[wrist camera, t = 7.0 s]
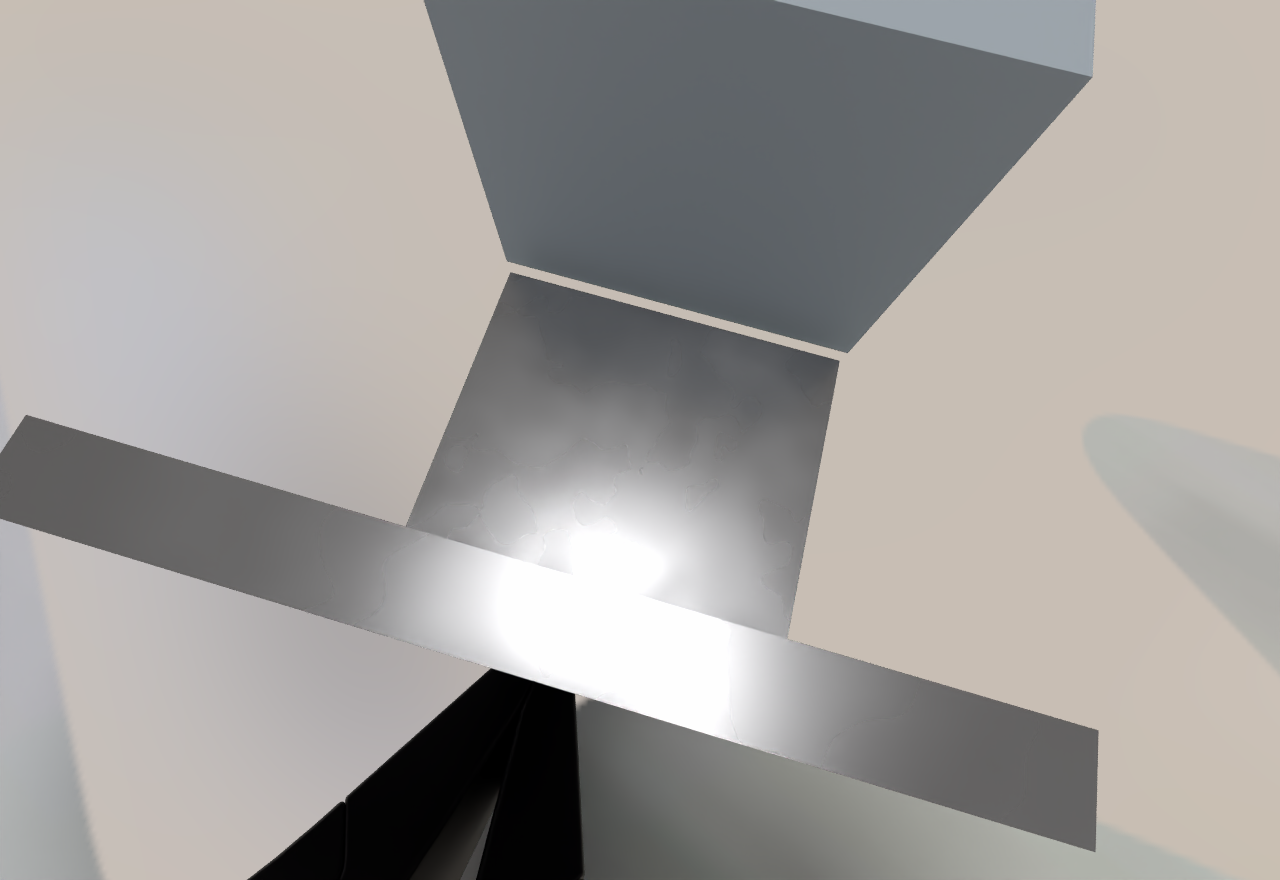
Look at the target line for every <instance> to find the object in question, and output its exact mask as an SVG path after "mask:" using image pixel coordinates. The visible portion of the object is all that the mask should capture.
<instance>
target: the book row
mask: <svg viewBox="0 0 1280 880" xmlns="http://www.w3.org/2000/svg"><path fill="white" fill-rule="evenodd" d="M424 2H425V6H426V9H427V12H428V15H429V18H430V21H431V24H432V27H433V30H434V34H435V37H436V40H437V43H438V46H439V49H440V53H441V55H442V59H443V62H444V65H445V68H446V71H447V75H448V77H449V81H450V84H451V87H452V90H453V93H454V97H455V100H456V103H457V106H458V109H459V112H460V115H461V118H462V122H463V125H464V128H465V131H466V134H467V137H468V140H469V144H470V147H471V150H472V153H473V156H474V159H475V162H476V165H477V168H478V172H479V175H480V178H481V181H482V184H483V187H484V190H485V193H486V197H487V200H488V203H489V206H490V209H491V212H492V216H493V219H494V222H495V225H496V228H497V231H498V234H499V238H500V240H501V244H502V247H503V250H504V253H505V256H506V259H507V261H508V262H512V263H516V264H519V265H523V266H527V267H530V268H534V269H538V270H542V271H545V272H549V273H553V274H557V275H560V276H564V277H568V278H571V279H575V280H579V281H582V282H586V283H590V284H593V285H597V286H601V287H605V288H608V289H612V290H616V291H620V292H623V293H627V294H631V295H635V296H638V297H642V298H646V299H649V300H653V301H656V302H660V303H664V304H668V305H671V306H675V307H679V308H683V309H686V310H690V311H694V312H697V313H701V314H705V315H709V316H712V317H716V318H720V319H723V320H727V321H731V322H734V323H738V324H742V325H745V326H749V327H753V328H757V329H760V330H764V331H768V332H771V333H775V334H779V335H783V336H786V337H790V338H794V339H798V340H801V341H805V342H809V343H812V344H816V345H820V346H823V347H828V348H831V349H834V350H838V351H842V352H846V353H848V352H849V351H850V350H851V349H852V348H853V346H854V345H855V344H856V343H857V342H858V341H859V340H860V339H861V337H862V336H863V335H864V334H865V333H866V332H867V331H868V330H869V328H870V327H871V326H872V325H873V324H874V323H875V322H876V321H877V319H878V318H879V317H880V316H881V315H882V314H883V312H884V311H885V310H886V309H887V308H888V307H889V306H890V305H891V303H892V302H893V301H894V300H895V299H896V298H897V297H898V295H900V293H901V292H902V291H903V290H904V289H905V288H906V287H907V286H908V284H909V283H910V282H911V281H912V280H913V278H915V277H916V275H917V274H918V273H919V272H920V271H921V270H922V269H923V268H924V266H925V265H926V264H927V263H928V262H929V261H930V259H931V258H932V257H933V256H934V255H935V254H936V253H937V252H938V251H939V249H940V248H941V247H942V246H943V245H944V244H945V243H946V242H947V240H948V239H949V238H950V237H951V236H952V235H953V234H954V233H955V231H956V230H957V229H958V228H959V227H960V226H961V225H962V224H963V222H964V221H965V220H966V219H967V218H968V217H969V216H970V214H971V213H972V212H973V211H974V210H975V209H976V208H977V207H978V206H979V204H980V203H981V202H982V201H983V200H984V198H985V197H986V196H987V195H988V194H989V193H990V192H991V191H992V190H993V189H994V187H995V186H996V185H997V184H998V183H999V182H1000V181H1001V179H1002V178H1003V177H1004V176H1005V175H1006V174H1007V173H1008V171H1009V170H1010V169H1011V168H1012V167H1013V166H1014V165H1015V164H1016V163H1017V161H1018V160H1019V159H1020V158H1021V157H1022V156H1023V155H1024V154H1025V153H1026V151H1027V150H1028V149H1029V148H1030V147H1031V146H1032V145H1033V143H1034V142H1035V141H1036V140H1037V139H1038V138H1039V137H1040V136H1041V134H1042V133H1043V132H1044V131H1045V130H1046V129H1047V128H1048V126H1049V125H1050V124H1051V123H1052V122H1053V121H1054V120H1055V119H1056V118H1057V116H1058V115H1059V114H1060V113H1061V112H1062V111H1063V110H1064V108H1065V107H1066V106H1067V105H1068V104H1069V103H1070V102H1071V101H1072V100H1073V98H1074V97H1075V96H1076V95H1077V94H1078V93H1079V92H1080V91H1081V89H1082V88H1083V87H1084V86H1085V85H1086V84H1087V83H1088V82H1089V80H1090V79H1091V78H1092V76H1093V74H1092V73H1093V53H1094V52H1093V51H1094V29H1095V5H1096V0H424Z"/></svg>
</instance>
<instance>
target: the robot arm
mask: <svg viewBox="0 0 1280 880" xmlns="http://www.w3.org/2000/svg"><path fill="white" fill-rule="evenodd" d="M494 807H495V808H494ZM493 809H494V812H493ZM492 812H493V816H492V820H491V824H490V828H489V831H488V835H487V839H486V843H485V847H484V851H483V855H482V858H481V862H480V866H479V870H478V874H477V878H476V880H584V879H583V878H584V875H585V870H584V852H583V833H582V814H581V795H580V777H579V758H578V739H577V721H576V702H575V694H574V693H571V692H568V691H565V690H561V689H558V688H555V687H551V686H548V685H545V684H542V683H538V682H535V681H532V680H528V679H525V678H522V677H519V676H515V675H512V674H509V673H505V672H502V671H499V670H496V669H492V668H491V669H490V670H489V671H487V672H486V673H485V674H484V675H483V676H482V677H481V678H479V679H478V680H477V681H476V682H475V683H474V684H473V685H472V686H471V687H469V688H468V689H467V690H466V691H465V692H464V693H463V694H461V695H460V696H459V697H458V698H457V699H456V700H455V701H454V702H452V704H450V705H449V706H448V707H447V708H446V709H445V710H444V711H442V712H441V713H440V714H439V715H438V716H437V717H436V718H435V719H433V720H432V721H431V722H430V723H429V724H428V725H427V726H425V727H424V728H423V729H422V730H421V731H420V732H419V733H418V734H416V735H415V736H414V737H413V738H412V739H411V740H410V741H409V742H407V743H406V744H405V745H404V746H403V747H402V748H401V749H400V750H398V751H397V752H396V753H395V754H394V755H393V756H392V757H391V758H389V759H388V760H387V761H386V762H385V763H384V764H383V765H382V766H381V767H379V768H378V769H377V770H376V771H375V772H374V773H373V774H372V775H370V776H369V777H368V778H367V779H366V780H365V781H364V782H362V783H361V784H360V785H359V786H358V787H357V788H356V789H355V790H353V791H352V792H351V793H350V794H349V795H348V796H347V797H346V800H345V803H344V802H340V803H338V804H337V805H336V806H335V807H334V808H333V809H332V810H331V811H330V812H328V813H327V814H326V815H325V816H324V817H323V818H322V819H321V820H319V821H318V822H317V823H316V824H315V825H314V826H313V827H312V828H310V829H309V830H308V831H307V832H305V833H304V834H303V835H302V836H301V837H299V838H298V839H297V840H296V841H295V842H294V843H292V844H291V845H290V846H289V847H288V848H287V849H285V850H284V851H283V852H282V853H281V854H279V855H278V856H277V857H276V858H275V859H273V860H272V861H271V862H270V863H268V864H267V865H266V866H264V867H263V868H262V869H261V870H259V871H258V872H257V873H255V874H254V875H253V876H251V877H250V878H249V879H248V880H460V879H461V877H462V875H463V872H464V870H465V868H466V866H467V864H468V862H469V860H470V858H471V856H472V854H473V851H474V849H475V847H476V845H477V843H478V841H479V839H480V837H481V835H482V833H483V830H484V828H485V826H486V824H487V822H488V820H489V818H490V816H491V814H492Z"/></svg>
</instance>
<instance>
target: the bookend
mask: <svg viewBox="0 0 1280 880" xmlns="http://www.w3.org/2000/svg"><path fill="white" fill-rule="evenodd" d="M838 367H839V361H838V360H834V359H830V358H827V357H823V356H819V355H816V354H812V353H808V352H805V351H800V350H797V349H793V348H790V347H786V346H782V345H778V344H775V343H771V342H767V341H764V340H760V339H756V338H752V337H748V336H745V335H741V334H737V333H734V332H730V331H726V330H722V329H719V328H715V327H712V326H708V325H704V324H701V323H697V322H693V321H689V320H685V319H682V318H678V317H674V316H671V315H667V314H663V313H660V312H656V311H652V310H648V309H645V308H641V307H637V306H633V305H630V304H626V303H623V302H618V301H615V300H611V299H607V298H604V297H600V296H597V295H593V294H589V293H585V292H581V291H578V290H574V289H570V288H567V287H563V286H559V285H556V284H552V283H548V282H544V281H541V280H537V279H533V278H530V277H526V276H522V275H519V274H515V273H510V275H509V277H508V280H507V282H506V284H505V287H504V289H503V292H502V294H501V297H500V299H499V301H498V304H497V306H496V309H495V311H494V314H493V316H492V319H491V321H490V324H489V326H488V328H487V331H486V333H485V336H484V338H483V341H482V343H481V345H480V348H479V350H478V352H477V355H476V357H475V360H474V362H473V365H472V367H471V369H470V372H469V374H468V377H467V379H466V382H465V384H464V386H463V389H462V391H461V394H460V396H459V399H458V401H457V403H456V406H455V408H454V411H453V413H452V415H451V418H450V420H449V423H448V426H447V428H446V430H445V432H444V435H443V437H442V440H441V442H440V445H439V447H438V449H437V452H436V455H435V457H434V459H433V462H432V464H431V467H430V469H429V471H428V474H427V476H426V479H425V481H424V483H423V486H422V488H421V491H420V493H419V496H418V498H417V500H416V503H415V505H414V508H413V510H412V513H411V515H410V517H409V520H408V522H407V525H406V527H405V526H402V525H398V524H395V523H392V522H388V521H385V520H381V519H378V518H374V517H371V516H368V515H365V514H361V513H358V512H354V511H351V510H347V509H344V508H341V507H337V506H334V505H330V504H327V503H324V502H320V501H317V500H313V499H310V498H307V497H303V496H300V495H296V494H293V493H290V492H286V491H283V490H279V489H276V488H272V487H269V486H266V485H263V484H259V483H256V482H252V481H249V480H246V479H242V478H239V477H235V476H232V475H228V474H225V473H221V472H218V471H215V470H212V469H208V468H205V467H201V466H198V465H195V464H191V463H188V462H184V461H181V460H178V459H174V458H171V457H167V456H164V455H161V454H157V453H154V452H150V451H147V450H143V449H140V448H137V447H133V446H130V445H127V444H123V443H120V442H116V441H113V440H109V439H106V438H103V437H99V436H96V435H93V434H89V433H86V432H82V431H79V430H76V429H72V428H69V427H65V426H62V425H59V424H55V423H52V422H49V421H45V420H42V419H38V418H35V417H31V416H28V415H26V416H25V417H24V419H23V420H22V422H21V423H20V425H19V426H18V428H17V429H16V431H15V432H14V434H13V435H12V437H11V438H10V440H9V441H8V443H7V444H6V446H5V447H4V449H3V450H2V452H1V453H0V519H3V520H6V521H10V522H13V523H16V524H20V525H23V526H26V527H29V528H33V529H36V530H39V531H43V532H46V533H49V534H52V535H56V536H59V537H62V538H65V539H69V540H72V541H75V542H79V543H82V544H85V545H88V546H92V547H95V548H98V549H102V550H105V551H108V552H111V553H115V554H118V555H121V556H125V557H128V558H132V559H134V560H138V561H141V562H144V563H148V564H151V565H154V566H157V567H161V568H164V569H167V570H171V571H174V572H177V573H180V574H184V575H187V576H190V577H194V578H197V579H200V580H203V581H207V582H210V583H213V584H217V585H220V586H223V587H227V588H230V589H233V590H236V591H240V592H243V593H246V594H249V595H253V596H256V597H260V598H263V599H266V600H269V601H273V602H276V603H279V604H282V605H285V606H289V607H292V608H295V609H299V610H302V611H305V612H309V613H312V614H315V615H318V616H322V617H325V618H328V619H331V620H335V621H338V622H342V623H345V624H348V625H351V626H354V627H358V628H361V629H365V630H368V631H371V632H374V633H377V634H381V635H384V636H387V637H391V638H394V639H397V640H400V641H404V642H407V643H410V644H413V645H417V646H420V647H423V648H427V649H430V650H433V651H436V652H440V653H443V654H447V655H450V656H453V657H457V658H460V659H463V660H466V661H470V662H473V663H476V664H479V665H483V666H486V667H489V668H492V669H496V670H499V671H502V672H505V673H509V674H512V675H515V676H519V677H522V678H525V679H528V680H532V681H535V682H538V683H542V684H545V685H548V686H551V687H555V688H558V689H561V690H565V691H568V692H571V693H574V694H578V695H581V696H584V697H588V698H591V699H594V700H597V701H601V702H604V703H607V704H610V705H614V706H617V707H620V708H624V709H627V710H630V711H633V712H637V713H640V714H643V715H647V716H650V717H653V718H656V719H660V720H663V721H666V722H670V723H673V724H676V725H679V726H683V727H686V728H689V729H693V730H696V731H699V732H702V733H706V734H709V735H712V736H716V737H719V738H722V739H725V740H729V741H732V742H735V743H739V744H742V745H745V746H748V747H752V748H755V749H758V750H762V751H765V752H768V753H771V754H775V755H778V756H781V757H785V758H788V759H791V760H794V761H798V762H801V763H804V764H807V765H811V766H814V767H817V768H821V769H824V770H827V771H830V772H834V773H837V774H840V775H844V776H847V777H850V778H853V779H857V780H860V781H863V782H867V783H870V784H873V785H876V786H880V787H883V788H886V789H890V790H893V791H896V792H899V793H903V794H906V795H909V796H913V797H916V798H919V799H922V800H926V801H929V802H932V803H936V804H939V805H942V806H945V807H949V808H952V809H955V810H959V811H962V812H965V813H968V814H972V815H975V816H978V817H982V818H985V819H988V820H991V821H995V822H998V823H1001V824H1004V825H1008V826H1011V827H1014V828H1018V829H1021V830H1024V831H1027V832H1031V833H1034V834H1037V835H1041V836H1044V837H1047V838H1050V839H1054V840H1057V841H1060V842H1064V843H1067V844H1070V845H1073V846H1077V847H1080V848H1083V849H1087V850H1090V851H1093V852H1095V848H1096V806H1097V805H1096V804H1097V767H1098V730H1095V729H1092V728H1088V727H1085V726H1081V725H1078V724H1075V723H1071V722H1068V721H1064V720H1061V719H1058V718H1054V717H1051V716H1047V715H1044V714H1041V713H1037V712H1034V711H1030V710H1027V709H1023V708H1020V707H1017V706H1014V705H1010V704H1007V703H1003V702H1000V701H996V700H993V699H990V698H986V697H983V696H979V695H976V694H973V693H969V692H966V691H962V690H959V689H955V688H952V687H949V686H946V685H942V684H939V683H935V682H932V681H929V680H925V679H922V678H918V677H914V676H912V675H908V674H905V673H901V672H897V671H895V670H891V669H888V668H884V667H881V666H878V665H874V664H871V663H867V662H864V661H861V660H857V659H854V658H850V657H847V656H844V655H840V654H837V653H833V652H830V651H826V650H823V649H820V648H816V647H813V646H810V645H806V644H803V643H799V642H796V641H793V640H789V639H787V637H788V632H789V626H790V621H791V616H792V610H793V605H794V600H795V595H796V589H797V583H798V579H799V573H800V568H801V563H802V558H803V552H804V547H805V542H806V536H807V531H808V525H809V520H810V514H811V510H812V504H813V499H814V493H815V489H816V483H817V478H818V472H819V467H820V462H821V457H822V451H823V446H824V441H825V435H826V430H827V425H828V420H829V414H830V409H831V404H832V399H833V393H834V388H835V383H836V377H837V372H838Z"/></svg>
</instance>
